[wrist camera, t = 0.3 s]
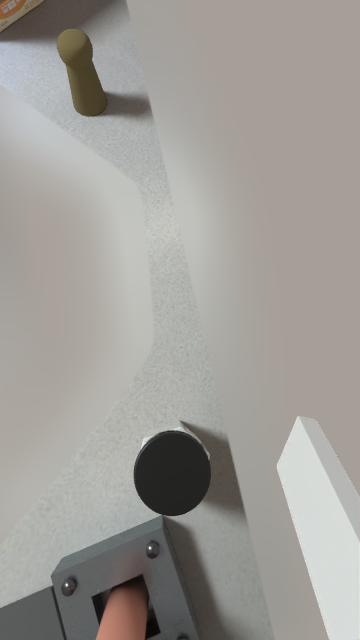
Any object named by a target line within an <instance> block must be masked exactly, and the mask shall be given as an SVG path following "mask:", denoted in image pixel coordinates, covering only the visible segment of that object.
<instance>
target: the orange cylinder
mask: <svg viewBox="0 0 360 640" xmlns="http://www.w3.org/2000/svg"><path fill="white" fill-rule="evenodd" d="M148 605H149V592H148V589H147V586H146V584H145V583H144V582H143V581H142V580H141V579H140V578H138V577H134V578H132V579H129V580H127V581H125V582H123V583H120V584H118V585H116V586H114V587H112V589H111V591H110V595H109V598H108V601H107V604H106V608H105V611H104V614H103V617H102V621H101V624H100V627H99V631H98V634H97V637H96V640H145V632H146V623H147V614H148Z"/></svg>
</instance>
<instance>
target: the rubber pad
mask: <svg viewBox="0 0 360 640" xmlns="http://www.w3.org/2000/svg"><path fill="white" fill-rule="evenodd" d="M0 640H66V637H65V633H64V629H63V625H62V621H61V617H60V613H59V609H58V605H57V601H56V598H55V594H54V590H53V586H50V587H48V588H46V589H43V590H41V591H39V592H36V593H34V594H32V595H30V596H27V597H25V598H23V599H20V600H18V601H16V602H14V603H11V604H9V605H7V606H4V607H2V608H0Z"/></svg>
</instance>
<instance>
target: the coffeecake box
mask: <svg viewBox="0 0 360 640" xmlns="http://www.w3.org/2000/svg"><path fill="white" fill-rule="evenodd" d="M43 1H45V0H0V32H1V31H2V30H4V29H5V28H6V27H8V26H9V25H11V24H12V23H13V22H15V21H16V20H18V19H19V18H20V17H22V16H23V15H25V14H26V13H28V12H29V11H30V10H32V9H33V8H35V7H36V6H38V5H39V4H40V3H42V2H43Z"/></svg>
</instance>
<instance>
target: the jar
mask: <svg viewBox="0 0 360 640" xmlns="http://www.w3.org/2000/svg"><path fill="white" fill-rule="evenodd" d="M209 458H210V454H209V452H208V451H207V449H206V447H205V446H204V444H203V442H202V441H201V440H200V439H199V438H198V437H197V436H196V435H195V434H194V433H193V432H192V431H190V430H189V429H188V428H187V427H186V426H185V425H184V424H183V423H182V422H181V421H180V420H177V421H174V422H171V423H168V424H164V425H161V426H158V427H155V428H152V429H149V431H148V432H147V434H146V436H145V438H144V439H143V443H142V447H141V451H140V453H139V454H138V457H137V459H136V462H135V466H134V483H135V487H136V490H137V493H138V495H139V497H140V498H141V500H142V501H143V502H144V504H145V505H146V506H147V507H149V508H150V509H151V510H153V511H154V512H156V513H159V514H162V515H166V516H178V515H182V514H185V513H187V512H189V511H191V510H192V509H194V508H195V507H196V506H197V505H198V504H199V503H200V502H201V501H202V500H203V498H204V496H205V495H206V493H207V490H208V488H209V484H210V478H211V470H210V462H209Z"/></svg>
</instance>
